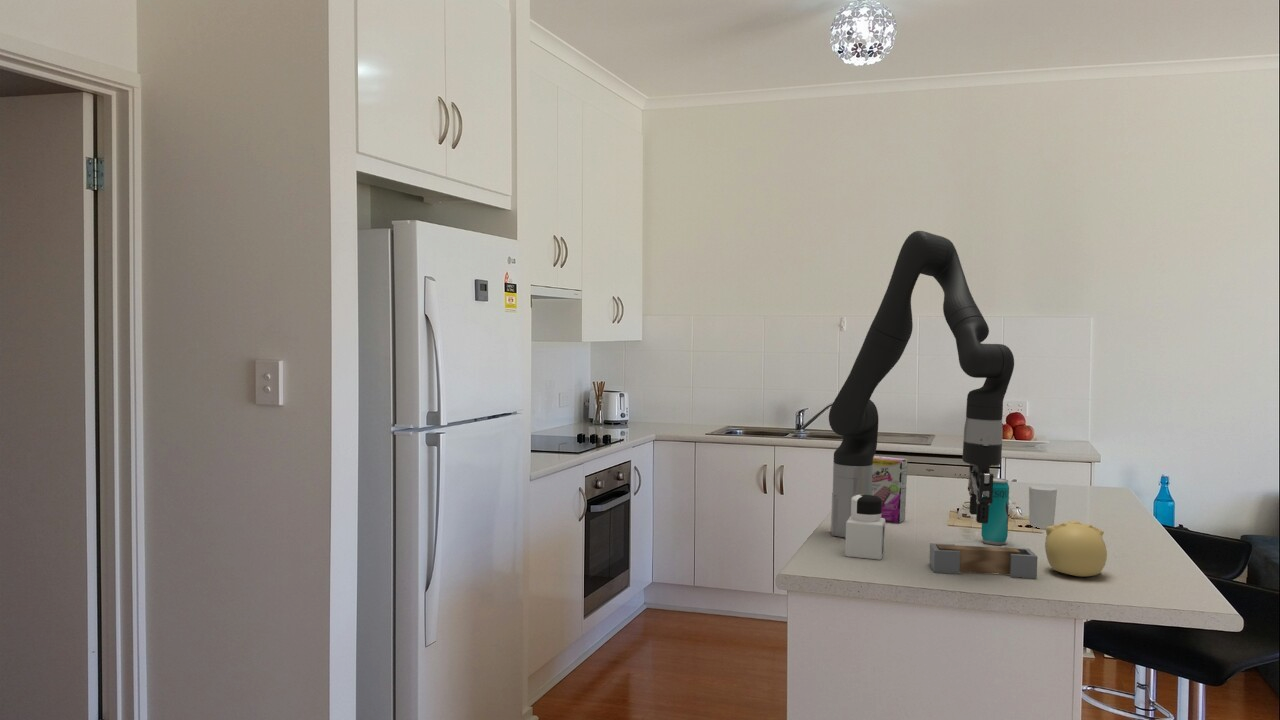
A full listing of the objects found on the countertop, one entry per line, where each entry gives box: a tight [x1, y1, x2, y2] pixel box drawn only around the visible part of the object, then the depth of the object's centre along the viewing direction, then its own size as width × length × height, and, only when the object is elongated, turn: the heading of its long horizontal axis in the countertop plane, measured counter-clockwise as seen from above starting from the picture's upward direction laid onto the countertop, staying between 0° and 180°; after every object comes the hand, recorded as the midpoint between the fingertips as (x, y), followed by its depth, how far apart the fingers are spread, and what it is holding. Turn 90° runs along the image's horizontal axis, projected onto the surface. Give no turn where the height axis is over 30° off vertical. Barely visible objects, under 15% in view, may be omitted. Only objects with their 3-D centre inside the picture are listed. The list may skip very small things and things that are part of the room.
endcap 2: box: [1003, 546, 1038, 579], centre depth 198 cm, size 5×7×4 cm
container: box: [844, 495, 886, 561], centre depth 211 cm, size 8×8×13 cm
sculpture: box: [1044, 520, 1108, 577], centre depth 199 cm, size 11×12×11 cm
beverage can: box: [981, 477, 1010, 546], centre depth 226 cm, size 6×6×15 cm
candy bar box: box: [872, 455, 908, 524], centre depth 251 cm, size 11×5×16 cm, turn 58°
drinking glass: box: [1028, 485, 1058, 530], centre depth 246 cm, size 7×7×10 cm
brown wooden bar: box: [936, 544, 1020, 575], centre depth 199 cm, size 16×4×5 cm, turn 84°
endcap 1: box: [929, 542, 960, 575], centre depth 200 cm, size 5×7×4 cm
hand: (978, 518), depth 199 cm, fingers open, 8 cm apart
